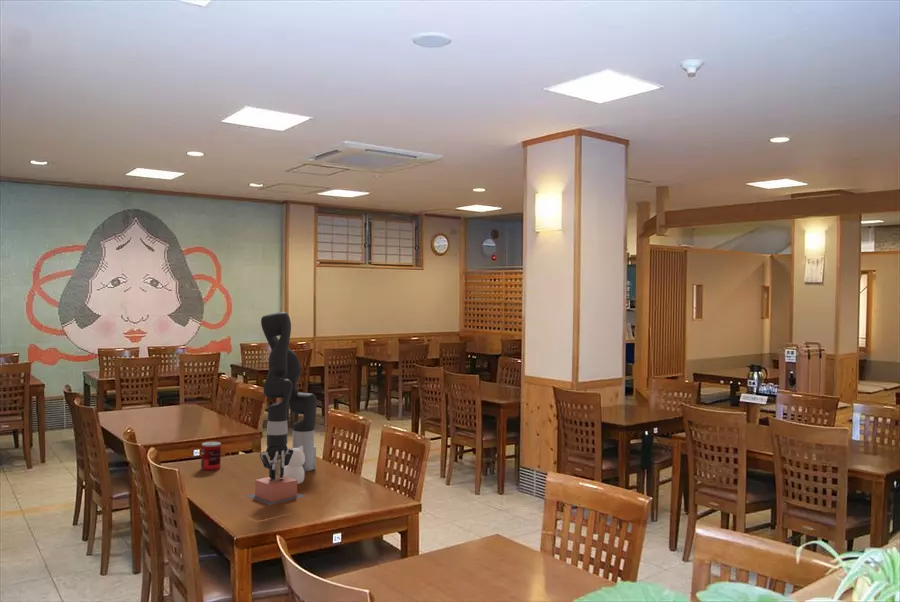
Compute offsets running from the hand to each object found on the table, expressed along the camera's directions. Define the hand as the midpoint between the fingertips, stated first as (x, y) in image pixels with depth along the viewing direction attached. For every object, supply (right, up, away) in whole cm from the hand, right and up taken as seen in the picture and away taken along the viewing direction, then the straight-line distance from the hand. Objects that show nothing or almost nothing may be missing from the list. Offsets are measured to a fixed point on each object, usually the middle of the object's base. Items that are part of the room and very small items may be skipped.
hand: (276, 478), depth 261 cm
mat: (0, -7, 0) cm, 7 cm away
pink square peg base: (0, -7, 0) cm, 7 cm away
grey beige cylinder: (0, -5, 0) cm, 5 cm away
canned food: (-39, -7, +41) cm, 57 cm away
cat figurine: (+1, -7, +21) cm, 22 cm away
